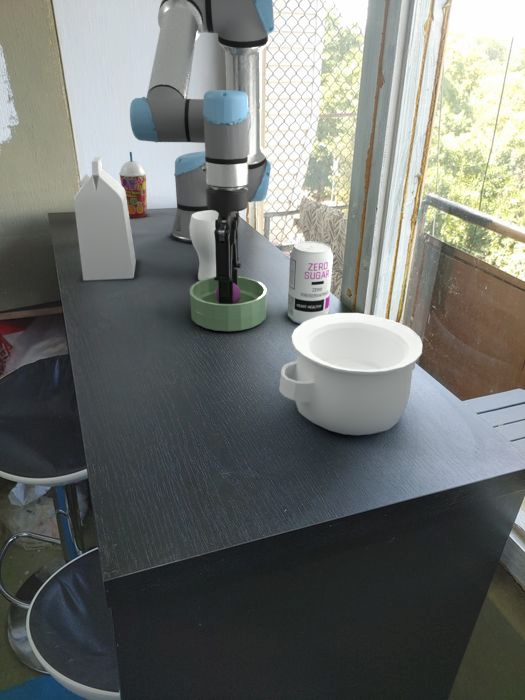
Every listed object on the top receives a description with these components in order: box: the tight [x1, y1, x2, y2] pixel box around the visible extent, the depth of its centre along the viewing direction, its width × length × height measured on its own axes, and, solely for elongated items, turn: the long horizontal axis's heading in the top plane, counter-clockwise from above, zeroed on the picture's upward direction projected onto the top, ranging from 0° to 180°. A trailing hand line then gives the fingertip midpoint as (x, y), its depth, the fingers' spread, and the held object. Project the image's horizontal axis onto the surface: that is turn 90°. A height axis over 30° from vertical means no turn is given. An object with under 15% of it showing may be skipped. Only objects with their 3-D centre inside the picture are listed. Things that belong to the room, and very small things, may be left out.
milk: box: [73, 156, 137, 281], centre depth 122 cm, size 12×12×26 cm
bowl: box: [188, 275, 268, 332], centre depth 105 cm, size 15×15×6 cm
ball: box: [216, 283, 241, 304], centre depth 104 cm, size 5×5×5 cm
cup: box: [189, 210, 219, 281], centre depth 122 cm, size 11×11×15 cm
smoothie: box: [119, 151, 148, 219], centre depth 169 cm, size 8×8×20 cm
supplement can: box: [287, 240, 334, 325], centre depth 103 cm, size 8×8×15 cm
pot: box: [278, 312, 424, 436], centre depth 75 cm, size 22×17×12 cm
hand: (228, 304), depth 105 cm, fingers closed on ball, 5 cm apart
